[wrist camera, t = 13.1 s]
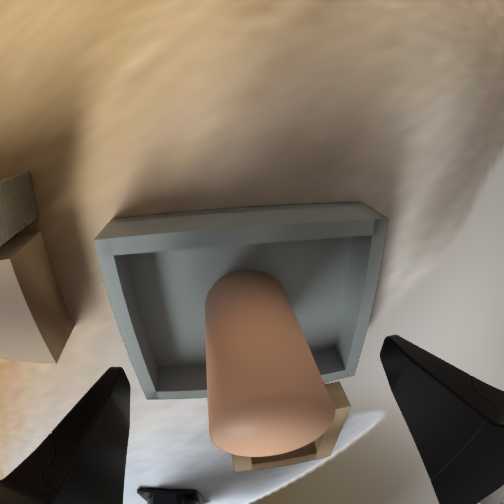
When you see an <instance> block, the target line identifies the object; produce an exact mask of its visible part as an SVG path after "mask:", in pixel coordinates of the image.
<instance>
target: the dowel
mask: <svg viewBox="0 0 504 504" xmlns="http://www.w3.org/2000/svg"><path fill="white" fill-rule="evenodd" d="M205 337H206V372H207V396H208V416H209V433H210V438H211V441H212V442H213V443H214V445H216V446H217V447H218V448H219V449H221V450H223V451H225V452H228V453H231V454H234V455H239V456H247V457H264V456H273V455H278V454H283V453H287V452H290V451H293V450H296V449H298V448H301V447H303V446H305V445H307V444H309V443H311V442H313V441H314V440H316V439H317V438H319V437H320V436H321V435H323V434H324V433H325V432H326V431H327V430H328V429H329V427H330V426H331V425H332V423H333V421H334V418H335V409H334V406H333V404H332V401H331V399H330V396H329V394H328V392H327V389H326V387H325V384H324V382H323V380H322V377H321V375H320V372H319V370H318V368H317V365H316V363H315V360H314V358H313V356H312V353H311V351H310V348H309V346H308V344H307V341H306V339H305V337H304V334H303V332H302V330H301V327H300V325H299V322H298V320H297V318H296V315H295V313H294V311H293V308H292V306H291V304H290V301H289V299H288V297H287V294H286V292H285V290H284V288H283V286H282V285H281V283H280V282H279V281H278V280H277V279H276V278H275V277H273V276H272V275H270V274H268V273H265V272H262V271H258V270H240V271H236V272H232V273H230V274H228V275H226V276H224V277H222V278H221V279H219V280H218V281H217V282H216V283H215V284H214V285H213V286H212V287H211V289H210V290H209V292H208V294H207V297H206V301H205Z"/></svg>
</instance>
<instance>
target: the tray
mask: <svg viewBox="0 0 504 504" xmlns="http://www.w3.org/2000/svg"><path fill="white" fill-rule="evenodd" d="M387 223H388V218H387V217H385V216H383V215H382V214H380V213H379V212H377V211H376V210H374V209H372V208H371V207H369V206H368V205H366V204H364V203H363V202H341V203H312V204H289V205H270V206H253V207H238V208H224V209H211V210H198V211H187V212H175V213H165V214H155V215H145V216H135V217H126V218H118V219H111V221H110V222H109V223H108V224H107V225H106V226H105V227H104V229H103V230H102V231H101V232H100V233H99V234H98V236H97V237H96V238H95V239H94V244H95V248H96V253H97V257H98V261H99V265H100V268H101V272H102V276H103V280H104V283H105V287H106V290H107V293H108V297H109V300H110V303H111V307H112V310H113V313H114V316H115V319H116V322H117V325H118V328H119V331H120V334H121V336H122V339H123V342H124V345H125V347H126V350H127V353H128V355H129V358H130V361H131V363H132V366H133V368H134V371H135V373H136V375H137V378H138V380H139V383H140V385H141V387H142V390H143V392H144V394H145V396H146V399H192V398H208V396H207V372H206V337H205V301H206V297H207V294H208V292H209V290H210V289H211V287H212V286H213V285H214V284H215V283H216V282H217V281H218V280H219V279H221V278H222V277H224V276H226V275H228V274H230V273H232V272H236V271H240V270H258V271H262V272H265V273H268V274H270V275H272V276H273V277H275V278H276V279H277V280H278V281H279V282H280V283H281V285H282V286H283V288H284V290H285V292H286V294H287V297H288V299H289V301H290V304H291V306H292V308H293V311H294V313H295V315H296V318H297V320H298V322H299V325H300V327H301V330H302V332H303V334H304V337H305V339H306V341H307V344H308V346H309V348H310V351H311V353H312V356H313V358H314V360H315V363H316V365H317V368H318V370H319V372H320V375H321V377H322V380H323V382H327V381H332V380H336V379H341V378H346V377H350V376H354V375H355V371H356V368H357V365H358V361H359V358H360V354H361V351H362V347H363V343H364V340H365V336H366V332H367V328H368V324H369V320H370V315H371V311H372V307H373V302H374V298H375V293H376V288H377V283H378V278H379V273H380V268H381V262H382V256H383V250H384V244H385V237H386V231H387Z"/></svg>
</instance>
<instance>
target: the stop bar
mask: <svg viewBox="0 0 504 504" xmlns="http://www.w3.org/2000/svg"><path fill="white" fill-rule="evenodd" d="M37 218H38V214H37V209H36V204H35V199H34V194H33V188H32V183H31V176H30V171H28V172H25V173H21V174H17V175H14V176H10V177H7V178H4V179H0V246H2V245H3V244H4V243H5V242H7V241H8V240H9V239H10V238H12V237H13V236H14V235H15V234H17V233H18V232H19V231H21V230H22V229H23V228H25V227H26V226H27V225H29V224H30V223H31V222H33V221H34V220H36V219H37Z"/></svg>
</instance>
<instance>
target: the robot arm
mask: <svg viewBox="0 0 504 504" xmlns="http://www.w3.org/2000/svg"><path fill="white" fill-rule="evenodd" d="M380 359H381V362H382V364H383V367H384V370H385V373H386V376H387V379H388V382H389V385H390V387H391V390H392V392H393V395H394V397H395V399H396V402H397V404H398V406H399V408H400V410H401V412H402V415H403V417H404V419H405V421H406V423H407V425H408V427H409V430H410V432H411V435H412V437H413V439H414V442H415V444H416V446H417V449H418V451H419V453H420V456H421V458H422V460H423V463H424V465H425V468H426V470H427V473H428V475H429V477H430V479H431V483H432V486H433V488H434V491H435V493H436V496H437V499H438V501H439V504H477V503H479V504H504V391H502V390H499V389H497V388H495V387H493V386H490V385H488V384H486V383H484V382H482V381H480V380H478V379H477V378H475V377H473V376H470V375H469V374H467V373H466V372H464V371H462V370H460V369H458V368H456V367H455V366H453V365H451V364H449V363H447V362H445V361H444V360H442V359H440V358H438V357H436V356H435V355H433V354H431V353H429V352H427V351H425V350H424V349H422V348H420V347H418V346H416V345H414V344H413V343H411V342H409V341H407V340H405V339H403V338H402V337H400V336H398V335H391V336H388V337H386V338H385V340H384V343H383V346H382V349H381V352H380ZM129 428H130V383H129V381H128V379H127V376H126V374H125V372H124V370H123V368H122V367H110V368H109V369H108V370H107V371H106V372H105V373H104V374H103V375H102V376H101V377H100V379H99V380H98V381H97V382H96V383H95V384H94V385H93V386H92V387H91V388H90V390H89V391H88V392H87V393H86V394H85V395H84V396H83V397H82V398H81V399H80V401H79V402H78V403H77V404H76V405H75V406H74V407H73V408H72V410H71V411H70V412H69V413H68V414H67V415H66V416H65V417H64V418H63V420H62V421H61V422H60V423H59V424H58V425H57V426H56V428H55V429H54V430H53V431H52V434H51V433H50V434H49V435H48V436H47V438H46V439H45V440H44V441H43V442H42V443H41V444H40V445H39V446H38V448H37V449H36V450H35V451H34V452H33V453H31V454H30V455H29V456H28V457H27V458H26V459H25V460H24V461H23V462H22V463H21V464H20V465H19V466H18V467H16V468H15V469H14V470H13V471H12V472H11V473H10V474H9V475H8V476H6V477H5V478H4V479H2V480H0V504H123V491H124V477H125V465H126V455H127V446H128V437H129ZM137 493H138V494H139V495H140V496H141V497H143V498H144V499H145V500H146V501H147V504H206V503H205V502H204V500H203V499H202V497H201V495H200V494H199V492H198V491H180V490H153V489H137Z"/></svg>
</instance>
